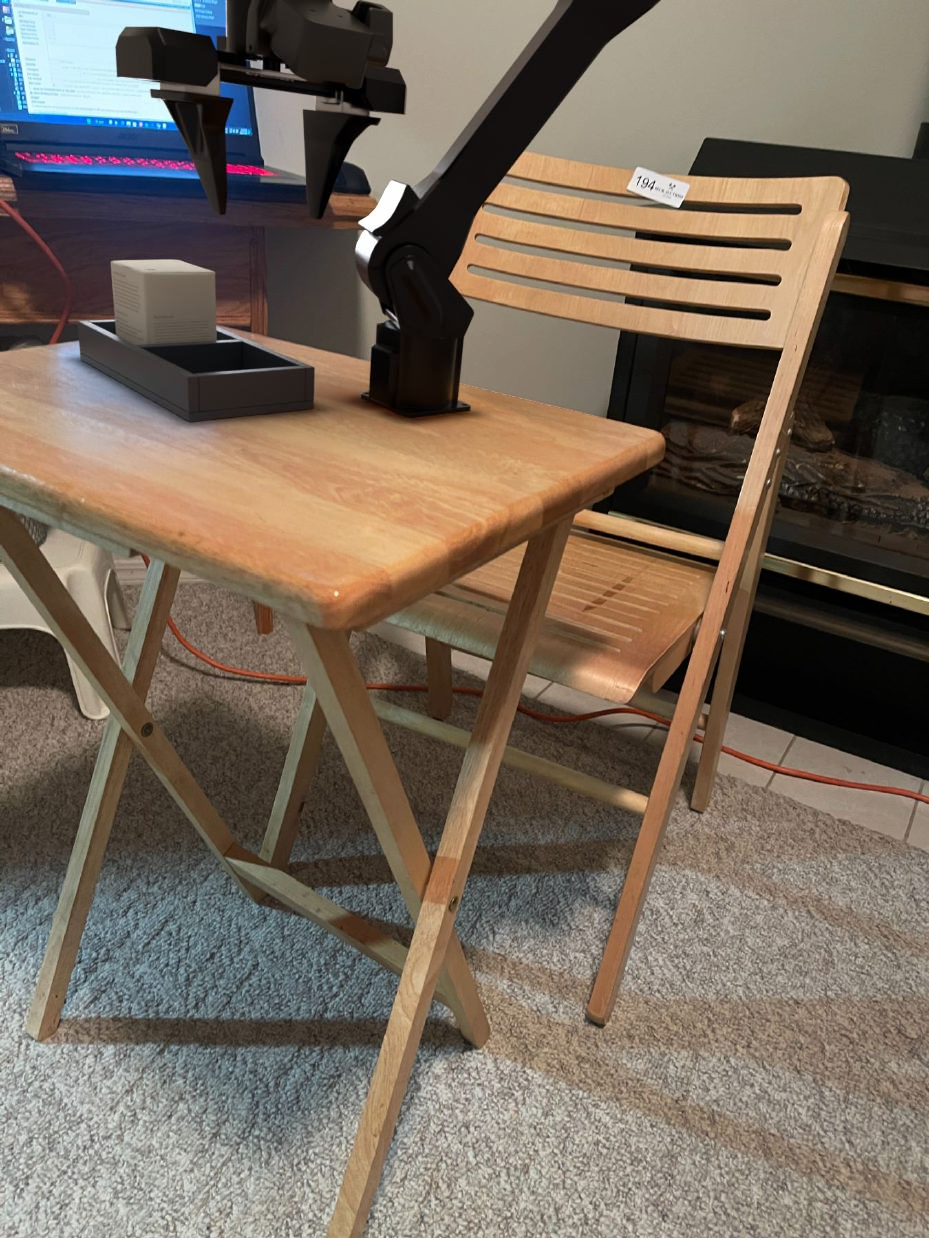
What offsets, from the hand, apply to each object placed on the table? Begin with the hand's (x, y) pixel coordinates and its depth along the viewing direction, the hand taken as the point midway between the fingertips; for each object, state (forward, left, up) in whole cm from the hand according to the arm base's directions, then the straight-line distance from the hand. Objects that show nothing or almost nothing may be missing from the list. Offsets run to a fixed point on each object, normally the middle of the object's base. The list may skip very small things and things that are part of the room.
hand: (269, 217), depth 65 cm
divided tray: (+3, -7, -13) cm, 15 cm away
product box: (+3, -11, -12) cm, 17 cm away
